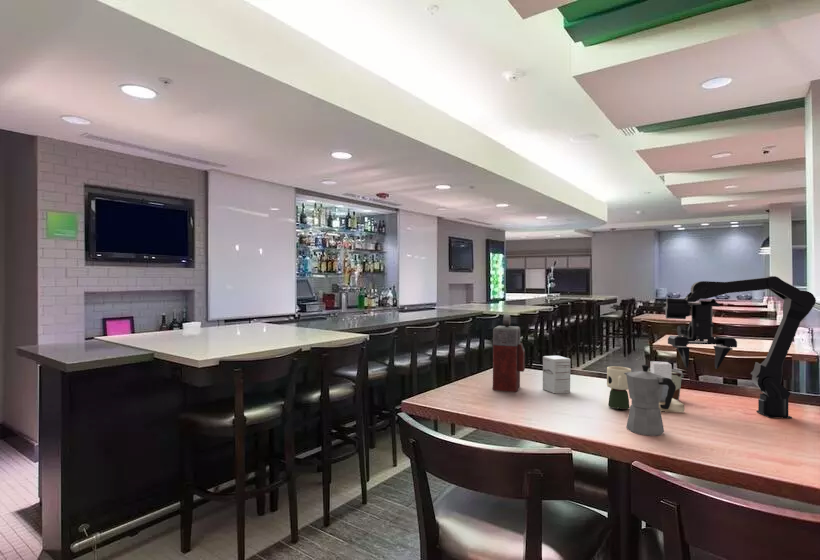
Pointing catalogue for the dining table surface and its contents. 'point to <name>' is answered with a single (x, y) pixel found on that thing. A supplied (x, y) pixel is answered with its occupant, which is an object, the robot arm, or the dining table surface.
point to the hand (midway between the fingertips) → (701, 368)
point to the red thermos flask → (507, 357)
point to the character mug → (618, 387)
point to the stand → (673, 406)
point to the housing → (662, 374)
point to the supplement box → (556, 374)
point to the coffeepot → (647, 401)
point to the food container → (676, 382)
